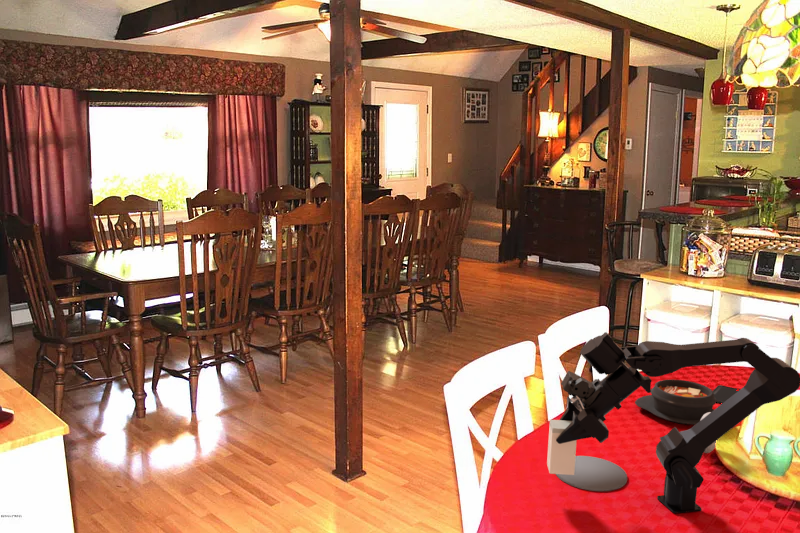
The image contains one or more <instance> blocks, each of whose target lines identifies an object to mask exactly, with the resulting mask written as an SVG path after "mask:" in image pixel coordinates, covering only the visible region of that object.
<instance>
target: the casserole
mask: <svg viewBox="0 0 800 533" xmlns="http://www.w3.org/2000/svg"><path fill="white" fill-rule="evenodd" d="M716 402H717V400H716V398H715V397H714V393H713V390H712V389H711V388H709V387H708V386H706V385H705V384H704V385H703V384H701V383H698V382H694V381H691V380H690V381H689V380H684V379H683V380H682V379H662V380H659V381H657V382H655V383H654V386H653V387H652V388H651V392H650V394H649V395H643V396H641V397H639V398H637V399H636V400H635V401H634V404H635V405H636V406H637V407H638V408H641V409H643V410H645V411H647V412H649V413H651V414H652V415H654V416H656V417H658V418H661V419H663V420H666V421H668V422H671V423H676V424H681V425H686V426H687V425H688V426H689V425H690V426H691V425H693V426H694V425H696V424H697V423H698V422H699V421H700V420H701V418H702V416H703V415H704V414H706V413H708V412H712V411H713V410H715V409H714V408H713V407H714V405H715V404H717V403H718V402H717V403H716Z"/></svg>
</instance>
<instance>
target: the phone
mask: <svg viewBox="0 0 800 533" xmlns="http://www.w3.org/2000/svg"><path fill="white" fill-rule="evenodd" d="M737 389H739V390H740V388H735V387H732V386H727V385H723V384H721V385H719V384H718V385H717V386H716V387H714V389H713V390H712V391H713V393H714V397H715V398H716V400H717V403H724V402H725V401H726V400H728V399H729V398H730V397H731V396H733V395H734V394H735V393H737V392H738V391H736V390H737Z"/></svg>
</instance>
